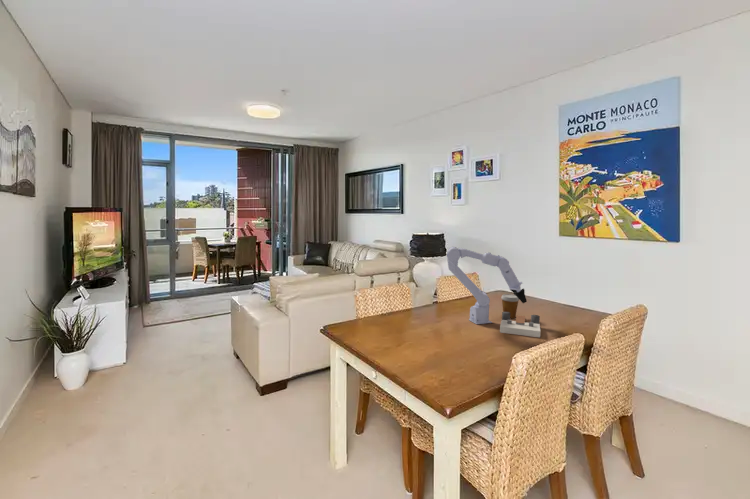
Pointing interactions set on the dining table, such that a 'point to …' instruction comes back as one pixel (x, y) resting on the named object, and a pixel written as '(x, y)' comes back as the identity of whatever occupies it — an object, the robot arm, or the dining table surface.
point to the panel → (520, 328)
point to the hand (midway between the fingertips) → (523, 300)
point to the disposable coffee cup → (510, 304)
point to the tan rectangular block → (520, 320)
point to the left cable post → (505, 315)
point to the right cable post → (535, 319)
